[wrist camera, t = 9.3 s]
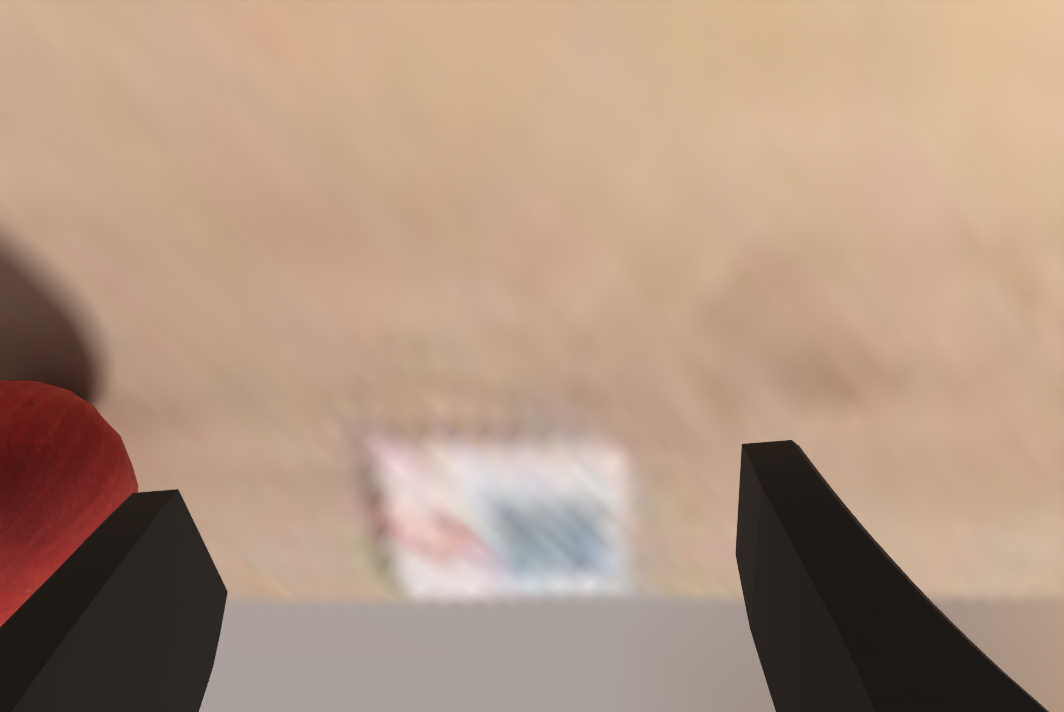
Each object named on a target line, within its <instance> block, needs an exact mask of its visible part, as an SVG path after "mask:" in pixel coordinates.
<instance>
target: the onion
mask: <svg viewBox="0 0 1064 712" xmlns="http://www.w3.org/2000/svg"><path fill="white" fill-rule="evenodd" d="M132 493H138V484H137V480H136V477H135V473H134V470H133V466H132V464H131V461H130V459H129V456H128V454H127V451H126V449H125V446H124V444H123V441H122V439H121V436H120V435H119V434H118V433H117V432H116V431H115V430H114V429H113V428H112V427H111V426H110V425H109V424H108V423H107V422H106V421H105V420H104V418H103V417H102V416H101V415H100V414H99V412H98V411H97V410H96V408H95V407H94V406H93V405H92V404H90V403H88V402H87V401H85V400H84V399H82V398H81V397H79V396H77V395H76V394H74V393H73V392H71V391H70V390H67V389H64V388H60V387H57V386H53V385H49V384H46V383H42V382H39V381H23V380H9V381H0V627H1V626H2V625H3V624H4V623H5V622H6V621H7V620H8V619H9V618H10V617H11V616H12V615H13V614H14V613H15V612H16V611H17V610H18V609H19V608H20V607H21V606H22V604H23V603H24V602H25V601H26V600H27V599H28V598H29V597H30V596H31V595H32V594H33V593H34V592H35V591H36V590H37V589H38V588H39V587H40V586H41V585H42V584H43V583H44V582H45V581H46V580H47V579H48V578H49V577H50V576H51V575H52V574H53V573H54V572H55V571H56V570H57V569H58V568H59V567H60V566H61V565H62V564H63V563H64V562H65V561H66V560H67V559H68V558H69V557H70V556H71V555H72V554H73V552H74V551H75V550H76V549H77V548H78V547H79V546H80V545H81V544H82V543H83V542H84V541H85V540H86V539H87V538H88V537H89V536H90V535H91V534H92V533H93V532H94V531H95V530H96V529H97V528H98V527H99V526H100V525H101V524H102V523H103V522H104V521H105V520H106V519H107V518H108V517H109V516H110V515H111V514H112V513H113V512H114V511H115V510H116V509H117V508H118V507H119V506H120V505H121V504H122V503H123V502H124V501H125V500H126V499H127V498H128V497H129V496H130V495H131V494H132Z"/></svg>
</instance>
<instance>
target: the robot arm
mask: <svg viewBox="0 0 1064 712" xmlns="http://www.w3.org/2000/svg"><path fill="white" fill-rule="evenodd" d="M736 559H737V564H738V569H739V574H740V580H741V585H742V590H743V595H744V600H745V605H746V610H747V615H748V620H749V625H750V630H751V633H752V636H753V640H754V642H755V646H756V649H757V652H758V656H759V659H760V662H761V665H762V668H763V672H764V675H765V678H766V681H767V684H768V688H769V691H770V694H771V697H772V700H773V703H774V707H775V710H776V712H1049V711H1047V710H1046V709H1045V708H1044V707H1043V706H1041V704H1039V703H1038V702H1037V701H1036V700H1035V699H1034V698H1033V697H1031V696H1030V695H1029V694H1028V693H1027V692H1026V691H1025V690H1023V689H1022V688H1021V687H1020V686H1019V685H1018V684H1017V683H1016V682H1014V681H1013V680H1012V679H1011V678H1010V677H1009V676H1008V675H1007V674H1005V673H1004V672H1003V671H1002V670H1001V669H1000V668H999V667H998V666H997V665H996V664H995V663H994V662H993V661H991V660H990V659H989V658H988V657H987V656H986V655H985V654H984V653H983V652H982V651H981V650H980V649H979V648H978V647H977V646H975V644H974V643H973V642H971V641H970V640H969V639H968V638H967V637H966V636H965V635H964V634H963V633H962V632H961V631H960V630H959V629H958V628H957V627H956V626H955V625H954V624H953V623H952V622H951V621H950V620H949V619H948V618H947V617H946V616H945V615H944V614H943V613H942V612H941V611H940V610H939V609H938V608H937V607H936V606H935V605H934V604H933V603H932V602H931V601H930V600H929V598H928V597H927V596H926V595H925V594H924V593H923V592H922V591H921V590H920V589H919V588H918V587H917V586H916V585H915V584H914V583H913V582H912V581H911V580H910V578H909V577H908V576H907V575H906V574H905V573H904V572H903V571H902V570H901V568H900V567H899V566H898V565H897V564H896V563H895V562H894V561H893V560H892V559H891V557H890V556H889V555H888V554H887V553H886V552H885V551H884V550H883V549H882V547H881V546H880V545H879V544H878V543H877V542H876V541H875V540H874V539H873V537H872V536H871V535H870V534H869V533H868V532H867V530H866V529H865V528H864V527H863V526H862V525H861V523H860V522H859V521H858V520H857V519H856V517H855V516H854V515H853V514H852V513H851V511H850V510H849V509H848V508H847V507H846V505H845V504H844V503H843V502H842V501H841V499H840V498H839V497H838V496H837V494H836V493H835V492H834V491H833V489H832V488H831V487H830V486H829V484H828V483H827V482H826V481H825V479H824V478H823V477H822V475H821V474H820V473H819V472H818V470H817V469H816V468H815V466H814V465H813V464H812V462H811V461H810V460H809V458H808V457H807V456H806V454H805V453H804V452H803V450H802V449H801V448H800V446H798V445H797V444H796V443H795V442H793V441H792V440H786V441H774V442H762V443H749V444H742V453H741V470H740V488H739V505H738V522H737V539H736ZM226 597H227V590H226V588H225V585H224V583H223V581H222V579H221V577H220V575H219V573H218V571H217V569H216V567H215V565H214V563H213V561H212V558H211V556H210V554H209V552H208V550H207V548H206V546H205V544H204V542H203V540H202V538H201V536H200V533H199V531H198V529H197V527H196V525H195V523H194V521H193V519H192V517H191V515H190V513H189V511H188V509H187V506H186V504H185V502H184V500H183V498H182V496H181V494H180V492H179V490H178V489H177V490H165V491H152V492H140V493H132V494H131V495H130V496H129V497H128V498H127V499H126V500H125V501H124V502H123V503H122V504H121V505H120V506H119V507H118V508H117V509H116V510H115V511H114V512H113V513H112V514H111V515H110V516H109V517H108V518H107V519H106V520H105V521H104V522H103V523H102V524H101V525H100V526H99V527H98V528H97V529H96V530H95V531H94V532H93V533H92V534H91V535H90V536H89V537H88V538H87V539H86V540H85V541H84V542H83V543H82V544H81V545H80V546H79V547H78V548H77V549H76V550H75V551H74V552H73V554H72V555H71V556H70V557H69V558H68V559H67V560H66V561H65V562H64V563H63V564H62V565H61V566H60V567H59V568H58V569H57V570H56V571H55V572H54V573H53V574H52V575H51V576H50V577H49V578H48V579H47V580H46V581H45V582H44V583H43V584H42V585H41V586H40V587H39V588H38V589H37V590H36V591H35V592H34V593H33V594H32V595H31V596H30V597H29V598H28V599H27V600H26V601H25V602H24V603H23V604H22V606H21V607H20V608H19V609H18V610H17V611H16V612H15V613H14V614H13V615H12V616H11V617H10V618H9V619H8V620H7V621H6V622H5V623H4V624H3V625H2V626H1V627H0V712H199V709H200V706H201V703H202V700H203V697H204V693H205V691H206V687H207V684H208V681H209V678H210V675H211V671H212V668H213V664H214V660H215V655H216V650H217V645H218V641H219V636H220V631H221V625H222V620H223V614H224V609H225V603H226Z"/></svg>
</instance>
